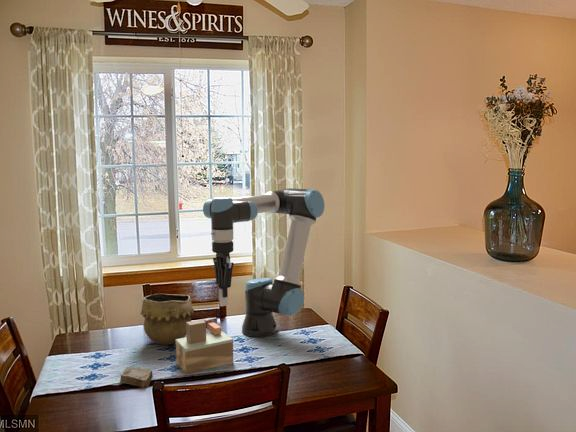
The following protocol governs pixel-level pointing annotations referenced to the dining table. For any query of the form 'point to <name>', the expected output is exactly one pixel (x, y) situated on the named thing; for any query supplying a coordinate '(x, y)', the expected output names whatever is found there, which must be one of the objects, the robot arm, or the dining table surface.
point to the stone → (136, 376)
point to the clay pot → (166, 317)
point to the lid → (200, 337)
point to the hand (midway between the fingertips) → (223, 305)
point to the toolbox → (204, 357)
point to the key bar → (213, 327)
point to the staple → (211, 320)
